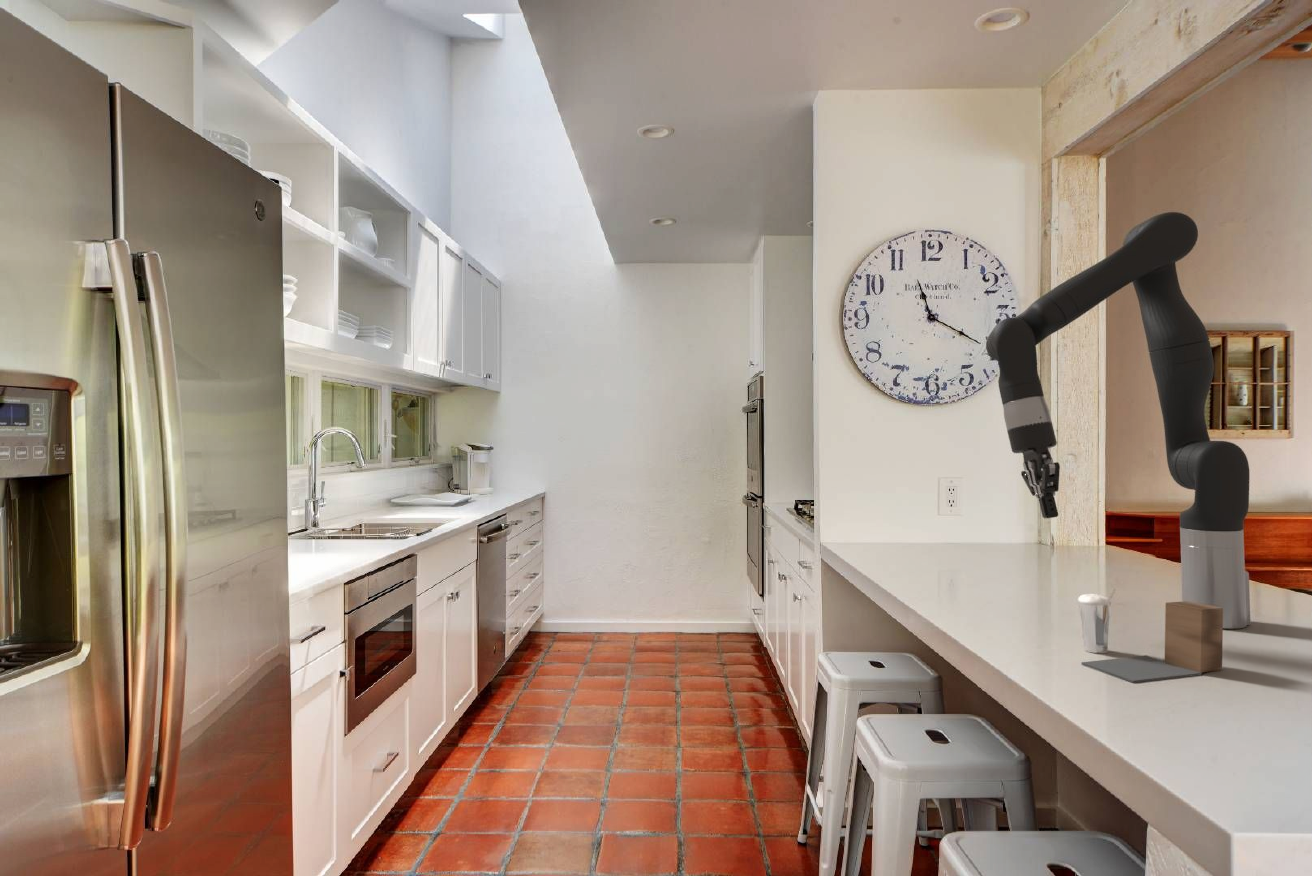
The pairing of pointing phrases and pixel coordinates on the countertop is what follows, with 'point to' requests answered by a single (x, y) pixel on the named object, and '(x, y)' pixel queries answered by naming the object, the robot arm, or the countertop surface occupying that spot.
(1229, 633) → the countertop surface
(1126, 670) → the mat
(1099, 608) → the milkshake
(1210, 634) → the walnut block
